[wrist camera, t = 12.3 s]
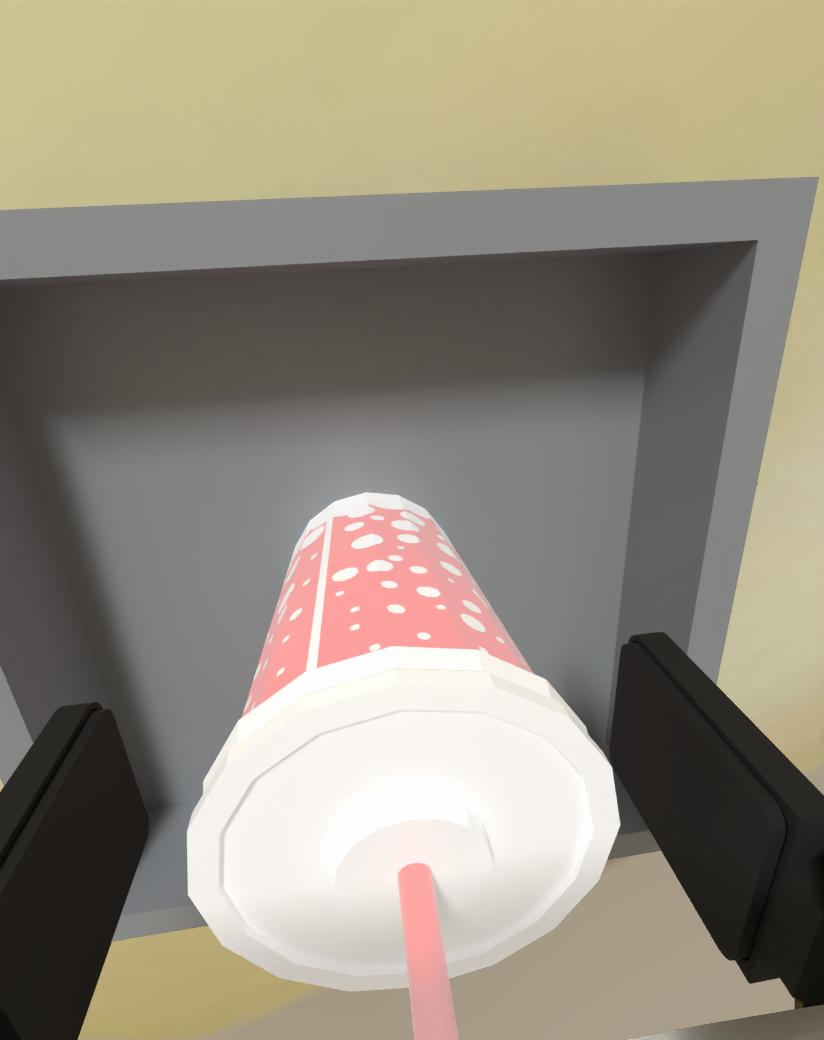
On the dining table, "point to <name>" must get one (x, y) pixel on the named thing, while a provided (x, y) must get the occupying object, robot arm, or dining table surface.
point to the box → (372, 440)
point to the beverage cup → (395, 777)
